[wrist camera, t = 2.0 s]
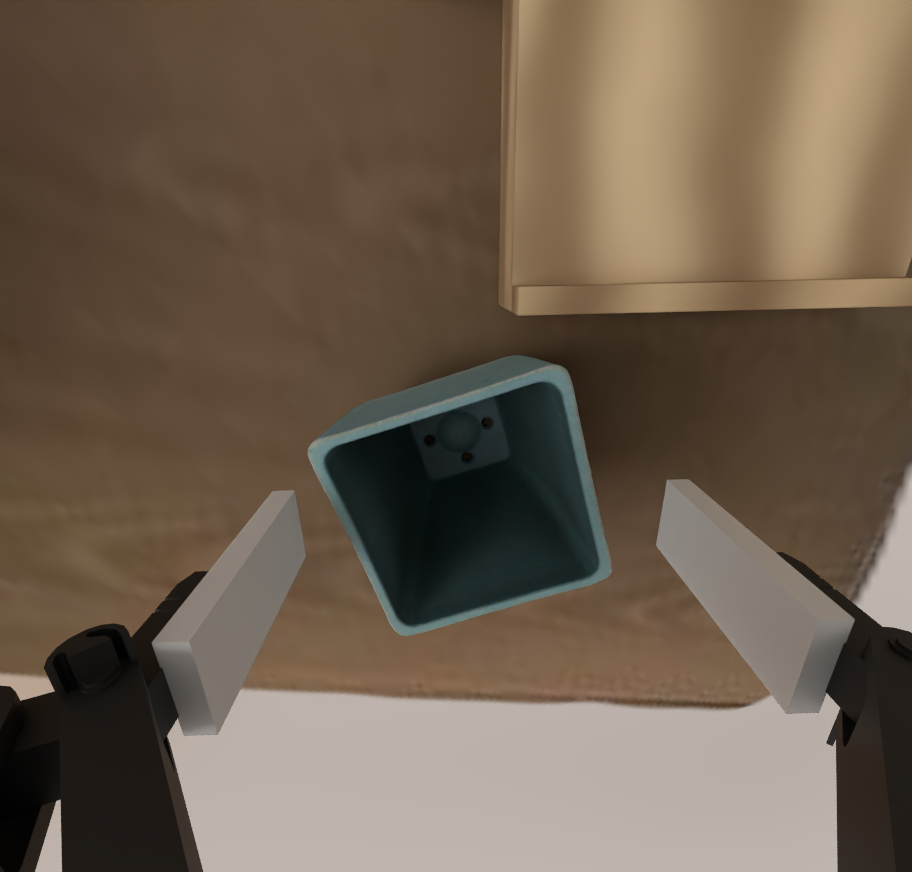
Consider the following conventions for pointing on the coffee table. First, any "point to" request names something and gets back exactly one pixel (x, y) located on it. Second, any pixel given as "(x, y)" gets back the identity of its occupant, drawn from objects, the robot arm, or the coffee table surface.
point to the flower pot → (467, 493)
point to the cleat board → (705, 155)
